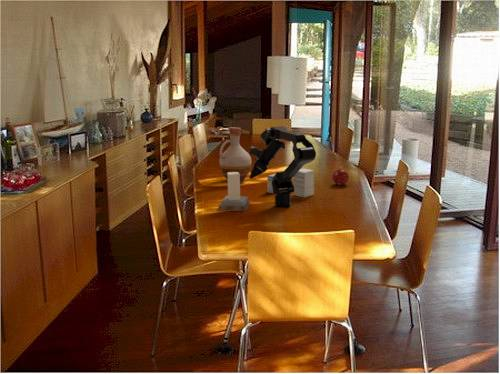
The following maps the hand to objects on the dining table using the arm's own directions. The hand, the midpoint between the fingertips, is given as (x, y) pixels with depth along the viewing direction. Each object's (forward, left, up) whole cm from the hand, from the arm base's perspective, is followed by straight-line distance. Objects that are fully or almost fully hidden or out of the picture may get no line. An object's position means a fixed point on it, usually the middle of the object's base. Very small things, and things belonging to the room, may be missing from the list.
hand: (250, 176), depth 252 cm
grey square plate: (+5, +11, -13) cm, 18 cm away
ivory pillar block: (+5, +11, -9) cm, 15 cm away
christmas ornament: (-40, -41, -13) cm, 59 cm away
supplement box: (-23, -16, -13) cm, 31 cm away
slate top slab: (+5, +11, -11) cm, 16 cm away
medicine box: (-8, -21, -13) cm, 26 cm away
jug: (+18, -40, -13) cm, 46 cm away
